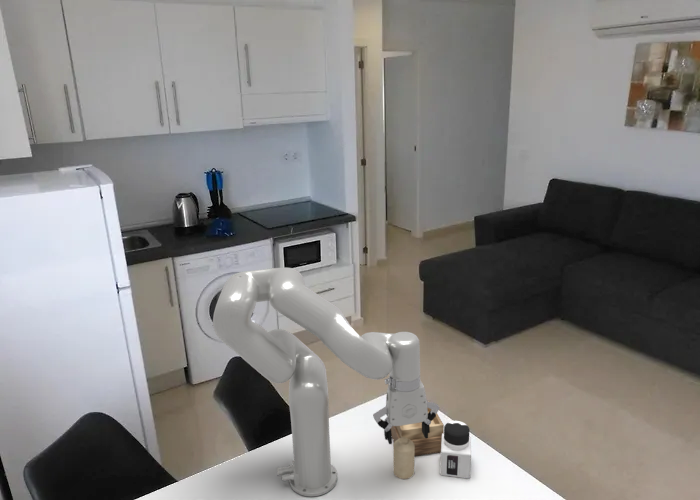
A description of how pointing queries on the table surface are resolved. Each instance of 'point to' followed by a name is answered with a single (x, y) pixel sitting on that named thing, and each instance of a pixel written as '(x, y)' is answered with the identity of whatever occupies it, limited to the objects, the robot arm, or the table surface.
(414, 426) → the top crate
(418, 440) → the base crate
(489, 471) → the table surface
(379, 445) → the table surface
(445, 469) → the container
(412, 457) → the candle
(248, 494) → the table surface
